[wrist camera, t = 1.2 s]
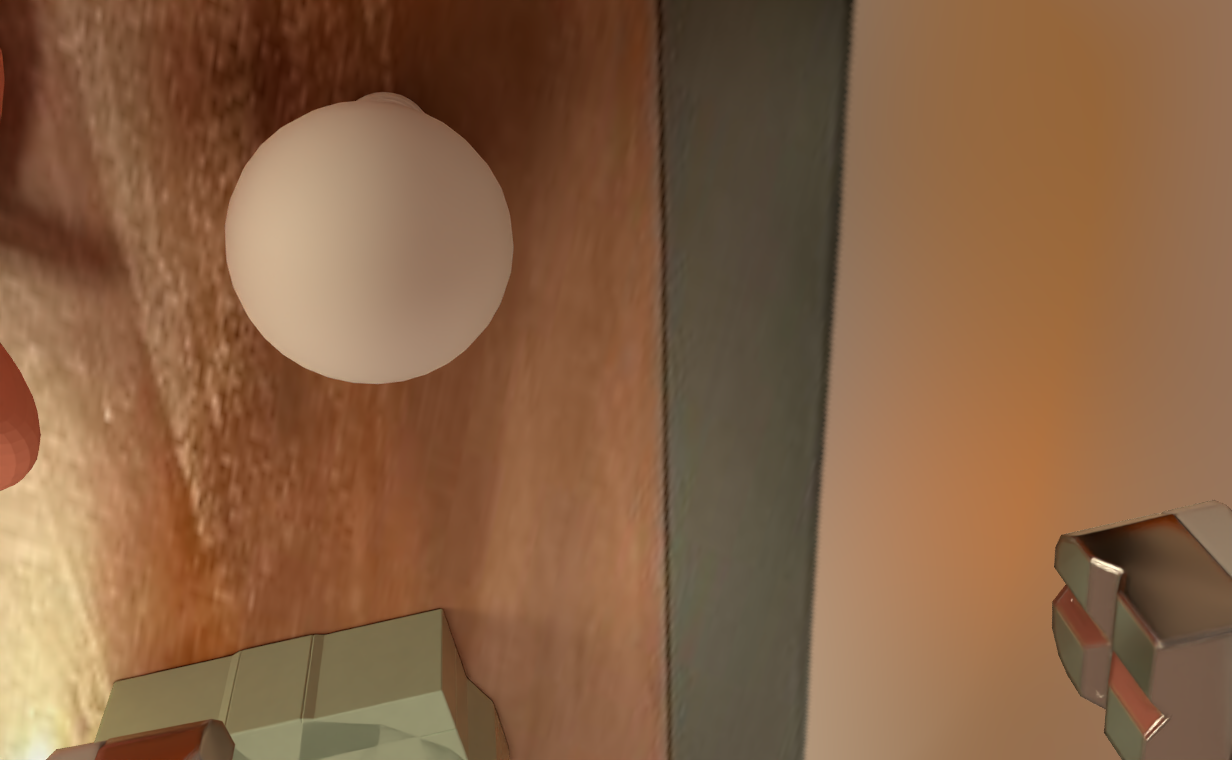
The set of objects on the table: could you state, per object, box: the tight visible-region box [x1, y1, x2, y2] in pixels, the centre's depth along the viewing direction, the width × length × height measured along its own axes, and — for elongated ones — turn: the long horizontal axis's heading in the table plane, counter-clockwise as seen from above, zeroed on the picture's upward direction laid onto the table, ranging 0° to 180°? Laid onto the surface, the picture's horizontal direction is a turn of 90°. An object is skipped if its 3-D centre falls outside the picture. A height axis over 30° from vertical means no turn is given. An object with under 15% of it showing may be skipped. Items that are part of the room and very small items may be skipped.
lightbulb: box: [225, 92, 514, 384], centre depth 27 cm, size 6×6×11 cm
